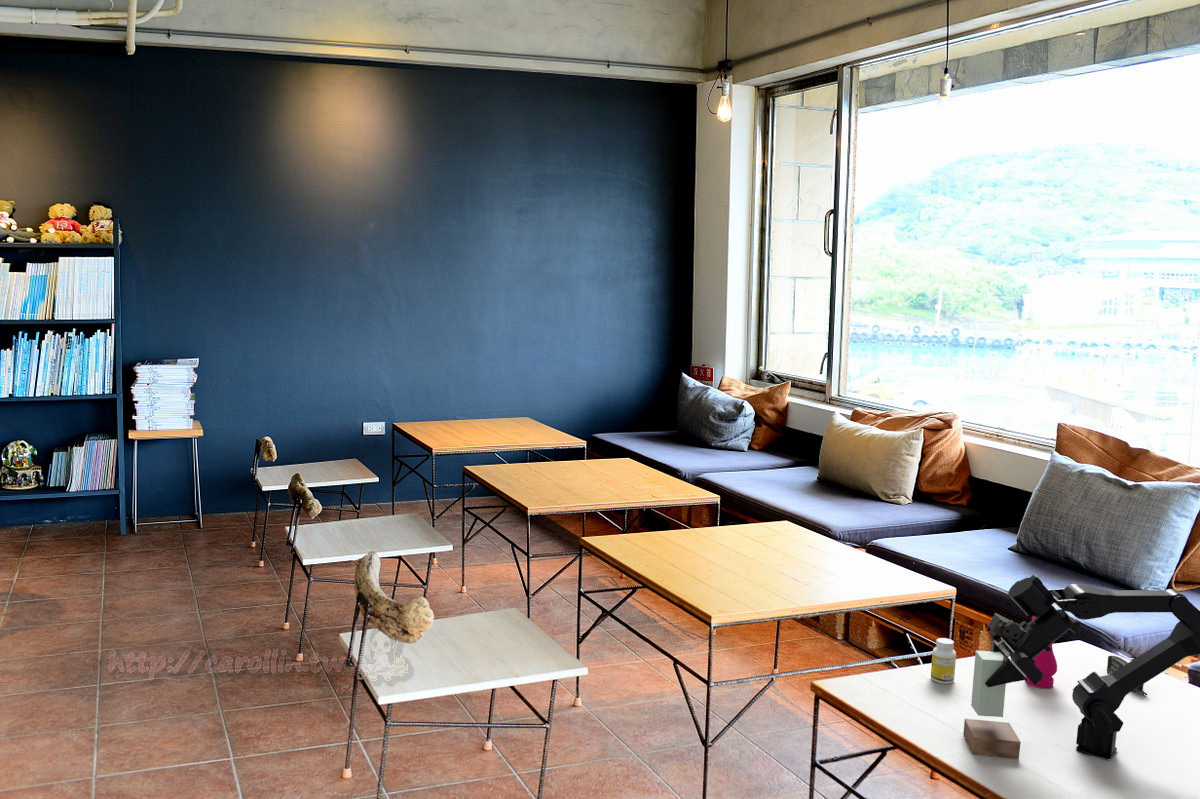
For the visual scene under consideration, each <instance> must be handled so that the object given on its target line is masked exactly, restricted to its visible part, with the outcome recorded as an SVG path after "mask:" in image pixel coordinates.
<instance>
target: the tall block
mask: <svg viewBox="0 0 1200 799" xmlns="http://www.w3.org/2000/svg"><path fill="white" fill-rule="evenodd" d="M1003 657H1004V656H1003V655H1002V654H1001V652H992V651H991V650H990V651H989V650H987V651H986V650H975V654H974V668H973V679H972V690H971V691H972V692H971V701H970V702H971V704H970V706H971V708H972V709H973V710H974V712H975V713H976V715H977V716H978V717H979V716H980V717H995V718H1003V717H1004V709H1005V708H1004V707H1005V698H1006V697H1005V696H1006V686H1007V683H1006V684H1002V685H997V686H993V687H987V686H986V684H985V682H986V681H987V680H988V679H989V678H990V677H991V676H992V675H993V674H994V673H995V671H996V670H997V669H998V668H999V667H1000V666H1001V665H1002V664H1003Z"/></svg>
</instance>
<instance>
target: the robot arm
mask: <svg viewBox="0 0 1200 799" xmlns="http://www.w3.org/2000/svg"><path fill="white" fill-rule="evenodd" d="M1007 594H1008V597H1010V598H1011V600H1012V601H1013V602H1014V603H1015V604H1016V606H1018V608H1020V609H1021V611H1022V612H1023V613H1024V614H1025V615H1026V616H1027V617H1032V616H1035V617H1036V618H1035V619H1033V620H1032V619H1031V620H1030V621H1029V622H1028V623H1027V621H1021V622H1020V623H1018V622H1014V621H1013V620H1012V619H1009V618H1006V617H1005V616H1002V615H1000V614H999V613H997V612H996V613H995V612H994V614H993V616H992V618H991V619H990V621H989V622H988V624H987V627H988V628H990V630H988V631H987V633H988V634H989V636H990V637H991V638H990V640H989V642H990V651H992V652H1001V654H1002V655H1003V656H1004V657H1003V664H1002V665H1001V666H1000V667H999V668H998V669H997V670H996V671H995V673H994V674H993V675H992V676H991V677H990V678H989V679H988V680H987V681H986V682H985V684H986V686H987V687H993V686H997V685H1002V684H1006V685H1007V684H1011V683H1016V682H1022V681H1024V682H1025V681H1027V679H1026V676H1027V677H1028V678H1029V679H1030V680H1031V682H1032V683H1033V684H1034V685H1036V684H1037V683H1039V682H1040V681H1041V680H1042V678H1043V673H1042V672H1041V671H1040V670H1039V668H1038V667H1037V666H1036V665H1035V664H1034V663H1035V661H1034V660H1033V659H1034V658H1035V657H1036V656H1037V655H1039V654H1040V653H1041V652H1042V651H1043V650H1046V651H1047V652H1049V651H1050V650H1051V648H1050V647H1049V646H1050V645H1051V644H1052V645H1053V643H1054V642H1056V641H1057V640H1058V639H1060V638H1061V637H1062V636H1063V635H1064V634H1066V633H1067V632H1068V631H1069V630H1070V631H1071V632H1072V633H1074V635H1076V636H1077V637H1079V636H1080V635H1081V625H1082V624H1081V621H1080V620H1083V621H1085V620H1086V621H1088V620H1093V619H1100V618H1103V617H1105V616H1107V615H1111V614H1115V613H1119V614H1121V613H1130V614H1131V613H1133V614H1134V613H1171V614H1172V615H1174V617H1175V619H1178V620H1177V621H1178V622H1177V623H1176V624H1175V626H1174V628H1173V629H1172V631H1171V633H1170V635H1169V636H1168V637H1166V638H1164V639H1163V640H1162V641H1160V642H1159V643H1157V644H1155V645H1154V646H1152V647H1151V648H1149V649H1147V650H1146V651H1144V652H1143V653H1142V654H1139V655H1138V656H1137V657H1135V658H1133V659H1132V660H1131V661H1128V662H1127V664H1126V665H1124V666H1123V667H1121V668H1119V669H1118V670H1116V671H1115V672H1113V673H1112V674H1108V675H1101V676H1100V675H1099V674H1098V673H1097V672H1096V671H1093V672H1090V673H1089V674H1088V675H1087V676H1086V677H1085V678H1082V679H1079V680H1077V683H1078V684H1077V685H1075V686H1074V688H1072V695H1071V697H1072V701H1073V703H1074V704H1075V705H1076V707H1078V709H1079V712H1080V714H1082V715H1083V717H1082V718H1081V720H1080V722H1079V724H1078V725H1077V730H1076V732H1077V733H1076V741H1075V742H1076V745H1077V746H1076V747H1075V748H1076V749H1075V750H1076V751H1077V752H1079V753H1085V754H1088V755H1090V756H1094V757H1097V758H1101V759H1104V760H1107V761H1110V760H1111V759H1112V758H1113V756H1114V755H1115V753H1117V751H1118V747H1116V741H1117V733H1119V732H1120V731H1121V729H1122V727H1123V725H1124V721H1122V719H1121V718H1120V717H1119V716H1118V714H1116V713H1115V712H1116V711H1117V710H1118V709H1119V708H1120V706H1121V704H1122V702H1123V701H1124V699H1125V698H1126V697H1127V695H1128V694H1130V693H1132V692H1133V691H1134V690H1135V689H1136V688H1138V687H1140V686H1141V685H1143V684H1144V685H1145V684H1146V683H1147V682H1149V681H1151V680H1152V679H1154V678H1156V677H1157V676H1158V675H1160V674H1162V673H1164V672H1165V671H1166V670H1168V669H1169V668H1172V667H1173V666H1174V665H1176V664H1177V663H1179V662H1181V661H1183V659H1186V658H1188V657H1192V656H1198V655H1199V656H1200V610H1199V609H1198V607H1196V606H1195V605H1194V604H1193V603H1191V601H1189V599H1188V597H1187V596H1185V594H1183V593H1181V592H1180V591H1178V590H1176V589H1173V588H1168V589H1159V590H1158V589H1151V590H1150V589H1149V590H1148V589H1143V590H1142V589H1141V590H1139V589H1138V590H1137V589H1135V590H1134V589H1133V590H1127V589H1126V590H1125V589H1124V590H1121V589H1120V590H1118V589H1117V590H1113V589H1112V590H1109V589H1103V588H1100V587H1099V588H1098V587H1095V586H1093V585H1092V586H1091V585H1087V584H1080V583H1072V584H1071V583H1070V584H1068V585H1066V587H1065V588H1063V587H1062V588H1051V589H1048V588H1047V587H1046V586H1045V585H1044V583H1043V581H1042V580H1041V579H1040V578H1039V577H1038V576H1037V575H1036V574H1032V575H1031V576H1029V577H1026V578H1023V579H1020V580H1018V581H1016V582H1015V583H1014V584H1013V585H1011V587H1010V588H1009V589H1008V593H1007ZM1054 604H1055V605H1056V606H1057V607H1059V608H1060V609H1056V608H1055V606H1054ZM1067 612H1068V613H1071V614H1072V615H1073V616H1074V617H1075V619H1074V618H1072V617H1070V615H1069V614H1068V613H1067ZM1078 619H1079V620H1078ZM1032 621H1033V622H1034V623H1033V622H1032ZM1144 685H1143V686H1144Z"/></svg>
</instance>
